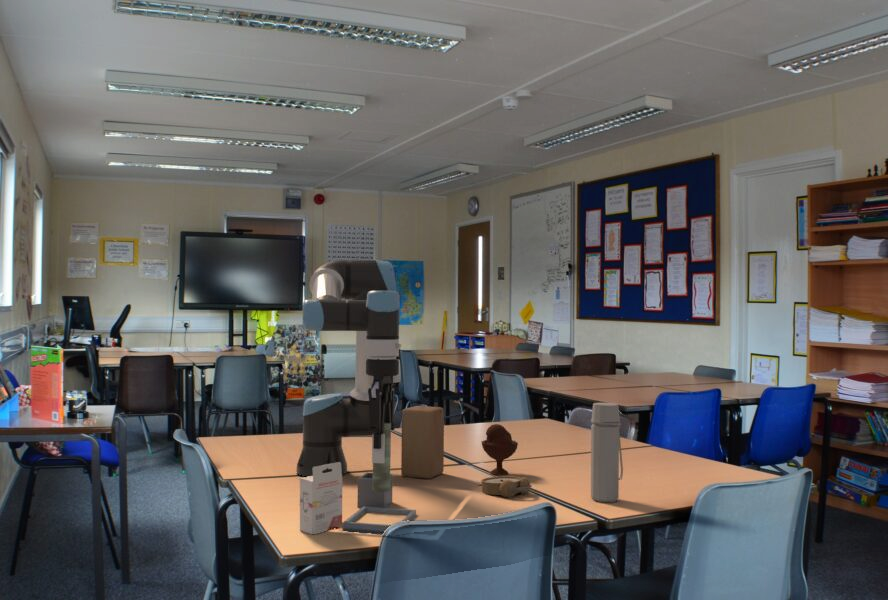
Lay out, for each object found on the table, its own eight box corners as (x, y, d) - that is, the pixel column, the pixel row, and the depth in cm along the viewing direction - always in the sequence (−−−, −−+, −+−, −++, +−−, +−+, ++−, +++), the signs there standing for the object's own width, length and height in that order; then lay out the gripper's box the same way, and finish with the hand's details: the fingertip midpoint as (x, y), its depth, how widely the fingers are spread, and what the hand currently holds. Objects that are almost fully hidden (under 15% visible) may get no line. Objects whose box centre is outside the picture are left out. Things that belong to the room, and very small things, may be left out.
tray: (342, 531, 162) (342, 522, 162) (363, 514, 175) (363, 506, 175) (399, 536, 159) (399, 526, 159) (416, 518, 173) (416, 510, 173)
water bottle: (601, 504, 187) (602, 406, 187) (584, 497, 194) (584, 402, 195) (631, 501, 191) (631, 404, 191) (612, 494, 198) (613, 401, 198)
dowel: (370, 491, 166) (370, 424, 166) (375, 487, 170) (376, 422, 170) (387, 492, 165) (387, 425, 165) (392, 488, 169) (393, 422, 169)
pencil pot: (357, 511, 178) (357, 478, 179) (366, 504, 185) (366, 472, 185) (384, 513, 177) (384, 479, 177) (392, 506, 184) (392, 473, 184)
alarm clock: (501, 475, 208) (539, 474, 197) (503, 492, 207) (542, 493, 196) (472, 480, 201) (510, 480, 190) (474, 498, 200) (512, 499, 189)
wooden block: (444, 473, 222) (445, 407, 222) (430, 480, 213) (430, 410, 213) (415, 470, 226) (415, 405, 227) (399, 476, 217) (400, 408, 218)
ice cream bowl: (516, 478, 216) (516, 427, 217) (478, 476, 219) (479, 425, 219) (519, 470, 227) (519, 422, 227) (483, 468, 229) (484, 420, 229)
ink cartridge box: (328, 522, 168) (329, 458, 169) (342, 527, 165) (343, 461, 165) (298, 530, 162) (299, 463, 162) (312, 535, 159) (313, 467, 159)
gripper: (387, 360, 159) (386, 469, 158) (408, 356, 175) (407, 454, 175) (354, 359, 160) (353, 467, 160) (378, 355, 177) (377, 453, 176)
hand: (381, 460), depth 167 cm, fingers closed on dowel, 4 cm apart
